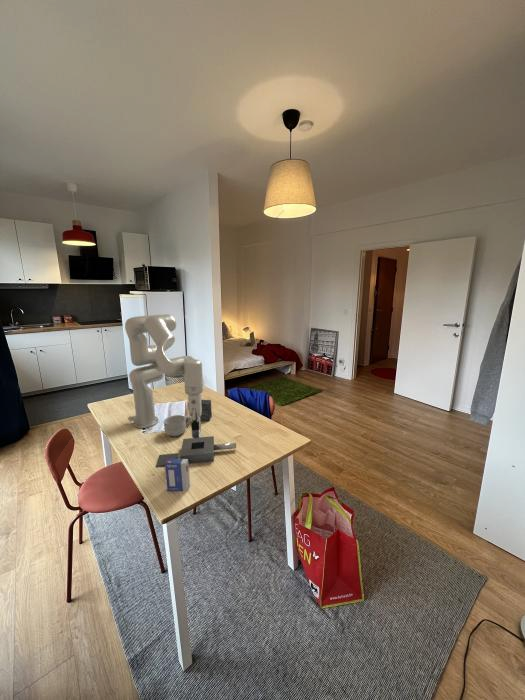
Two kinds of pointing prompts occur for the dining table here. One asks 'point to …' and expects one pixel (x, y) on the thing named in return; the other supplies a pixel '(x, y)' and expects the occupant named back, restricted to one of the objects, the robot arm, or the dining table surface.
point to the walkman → (177, 474)
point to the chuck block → (201, 449)
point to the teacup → (176, 424)
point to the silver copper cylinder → (197, 432)
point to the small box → (206, 410)
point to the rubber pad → (163, 459)
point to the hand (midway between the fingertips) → (195, 426)
